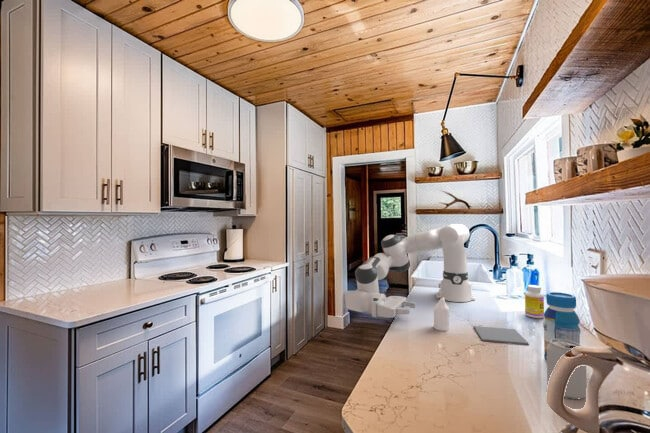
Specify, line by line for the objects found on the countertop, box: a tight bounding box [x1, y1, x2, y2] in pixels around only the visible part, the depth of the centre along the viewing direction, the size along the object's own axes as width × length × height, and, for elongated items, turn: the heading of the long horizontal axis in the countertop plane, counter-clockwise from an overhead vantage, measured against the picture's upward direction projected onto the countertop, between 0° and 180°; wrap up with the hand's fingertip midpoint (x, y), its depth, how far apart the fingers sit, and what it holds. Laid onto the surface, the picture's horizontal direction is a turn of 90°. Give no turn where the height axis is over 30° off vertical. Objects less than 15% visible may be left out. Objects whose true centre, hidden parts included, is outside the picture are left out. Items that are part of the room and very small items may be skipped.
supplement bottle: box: [524, 284, 545, 319], centre depth 129 cm, size 7×7×13 cm
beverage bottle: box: [542, 291, 581, 363], centre depth 87 cm, size 8×8×20 cm
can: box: [546, 339, 587, 400], centre depth 73 cm, size 8×8×12 cm
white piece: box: [433, 297, 450, 332], centre depth 116 cm, size 6×12×6 cm
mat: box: [473, 325, 530, 346], centre depth 108 cm, size 13×14×1 cm
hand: (412, 308), depth 121 cm, fingers open, 8 cm apart
